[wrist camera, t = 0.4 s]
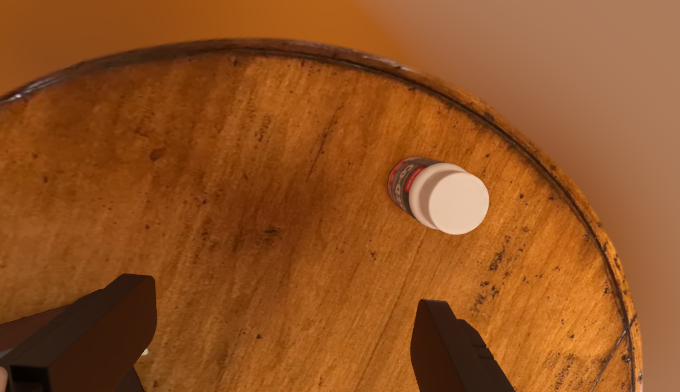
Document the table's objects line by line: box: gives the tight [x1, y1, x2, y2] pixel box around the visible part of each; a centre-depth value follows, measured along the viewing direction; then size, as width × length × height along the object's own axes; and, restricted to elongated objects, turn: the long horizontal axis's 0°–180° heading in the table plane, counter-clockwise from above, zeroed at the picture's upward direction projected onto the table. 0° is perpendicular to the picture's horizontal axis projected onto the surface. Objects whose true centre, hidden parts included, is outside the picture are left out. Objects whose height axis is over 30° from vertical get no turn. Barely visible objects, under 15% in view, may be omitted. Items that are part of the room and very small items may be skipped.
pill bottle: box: [388, 157, 489, 235], centre depth 25 cm, size 5×5×8 cm
